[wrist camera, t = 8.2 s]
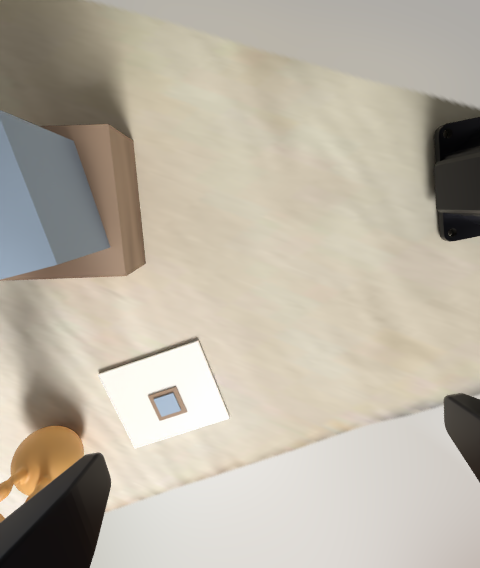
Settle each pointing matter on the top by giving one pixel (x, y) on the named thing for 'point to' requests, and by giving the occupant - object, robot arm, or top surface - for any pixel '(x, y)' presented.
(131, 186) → the base brick
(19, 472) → the figurine
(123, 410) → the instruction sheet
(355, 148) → the top surface
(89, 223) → the blue brick
